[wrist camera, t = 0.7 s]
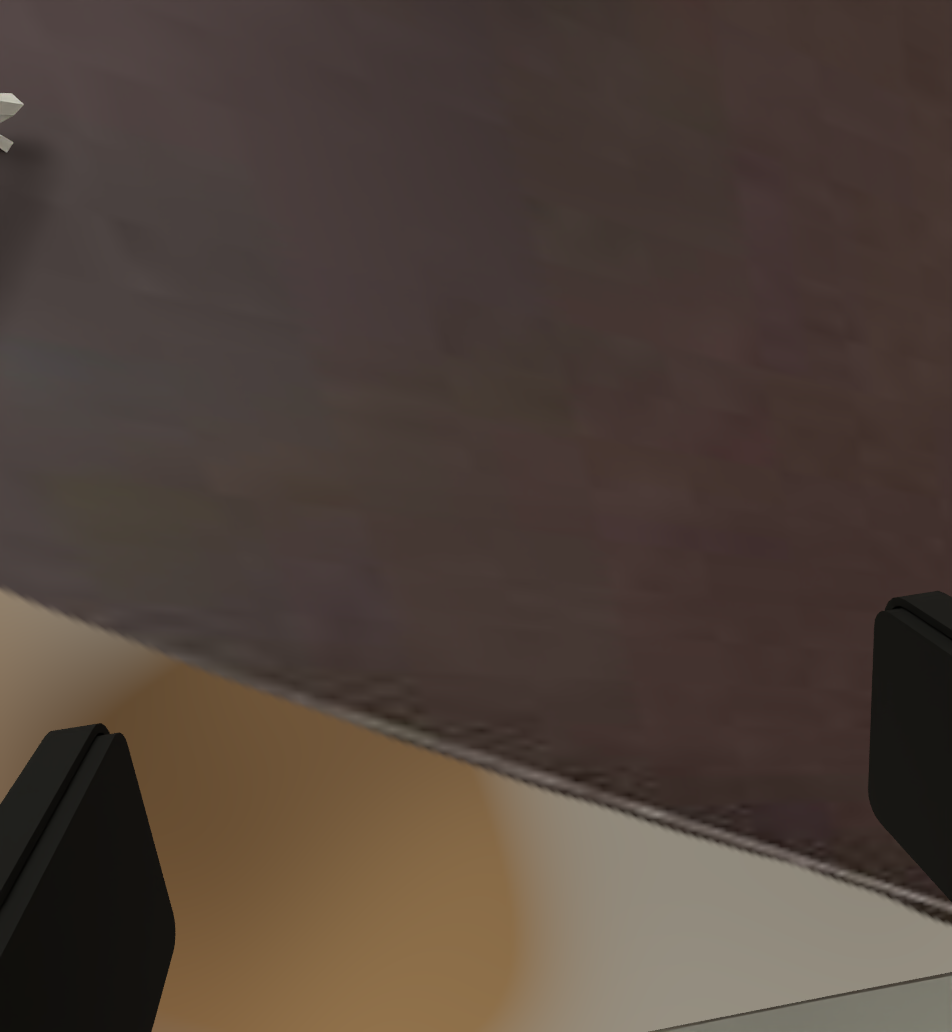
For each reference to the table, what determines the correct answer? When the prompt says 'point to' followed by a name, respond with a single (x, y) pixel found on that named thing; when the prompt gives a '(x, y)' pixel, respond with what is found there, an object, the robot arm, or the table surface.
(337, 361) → the table surface
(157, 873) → the robot arm
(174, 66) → the table surface
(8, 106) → the origami figure
